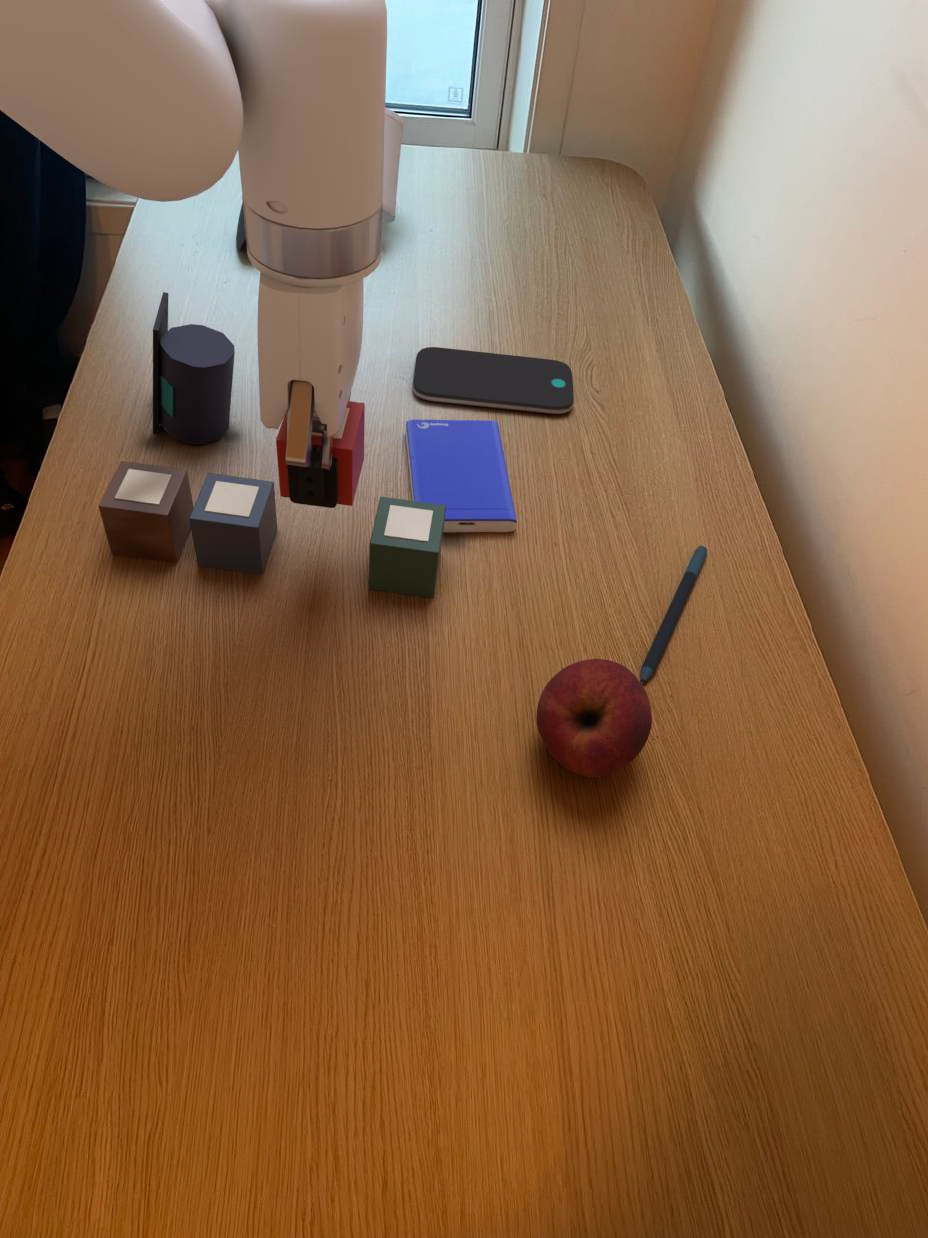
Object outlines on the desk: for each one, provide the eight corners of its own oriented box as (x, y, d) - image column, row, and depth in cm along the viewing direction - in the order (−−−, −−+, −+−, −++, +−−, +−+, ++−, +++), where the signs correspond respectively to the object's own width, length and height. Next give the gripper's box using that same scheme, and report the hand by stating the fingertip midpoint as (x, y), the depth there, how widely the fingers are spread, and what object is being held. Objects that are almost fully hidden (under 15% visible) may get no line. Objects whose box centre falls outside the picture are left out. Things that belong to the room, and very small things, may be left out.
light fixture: (393, 289, 100) (428, 120, 97) (248, 245, 93) (281, 61, 90) (363, 292, 109) (394, 137, 106) (229, 252, 102) (258, 85, 99)
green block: (368, 589, 71) (369, 542, 67) (378, 542, 74) (380, 494, 70) (433, 598, 71) (439, 551, 67) (440, 551, 74) (446, 504, 70)
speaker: (128, 430, 79) (120, 322, 71) (163, 394, 83) (159, 289, 75) (211, 461, 79) (212, 356, 71) (242, 424, 83) (246, 321, 75)
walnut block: (111, 554, 70) (97, 504, 67) (132, 508, 74) (120, 459, 70) (177, 563, 71) (167, 514, 67) (195, 517, 74) (187, 468, 70)
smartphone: (574, 409, 86) (411, 392, 85) (573, 417, 86) (411, 400, 86) (572, 360, 91) (417, 343, 90) (570, 368, 91) (417, 351, 91)
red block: (280, 496, 64) (275, 438, 60) (295, 449, 68) (291, 391, 64) (352, 506, 64) (352, 448, 61) (364, 459, 68) (364, 401, 64)
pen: (632, 686, 68) (636, 676, 67) (694, 551, 77) (698, 541, 76) (646, 692, 68) (650, 682, 67) (706, 556, 77) (710, 546, 76)
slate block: (197, 566, 71) (188, 517, 67) (214, 520, 74) (207, 471, 70) (263, 574, 71) (258, 526, 67) (277, 528, 74) (273, 480, 70)
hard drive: (405, 418, 82) (416, 519, 74) (498, 419, 83) (518, 518, 75) (405, 432, 83) (415, 533, 75) (495, 433, 84) (515, 532, 76)
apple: (503, 745, 63) (521, 675, 57) (576, 682, 67) (599, 611, 61) (588, 818, 60) (616, 753, 54) (659, 748, 64) (692, 680, 58)
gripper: (280, 150, 57) (294, 394, 71) (205, 302, 46) (239, 554, 60) (402, 167, 57) (392, 407, 71) (355, 322, 46) (354, 570, 60)
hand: (322, 472), depth 66 cm, fingers closed on red block, 5 cm apart
